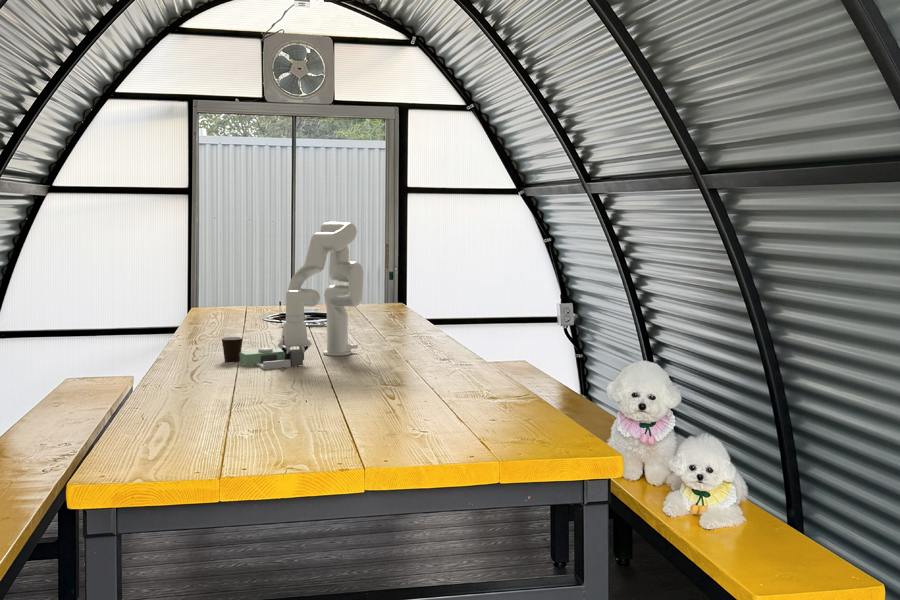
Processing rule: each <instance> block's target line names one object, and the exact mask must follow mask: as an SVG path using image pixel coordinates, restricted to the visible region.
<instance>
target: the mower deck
mask: <svg viewBox="0 0 900 600" xmlns="http://www.w3.org/2000/svg"><path fill="white" fill-rule="evenodd" d="M240 363H241V364H240ZM239 364H240V365H242V364H243V365H242V366H244V365H245V367H252V366H251V365H257V366H256V367H258V366H259V367H258V368H260V367H261V368H260V369H262V368H263V369H262V370H270V369H269V368H275V369H283V368H282V367H285V368H291V364H290V359H289V360H285V353H284V351H283V350H282V349H280V348H272V347H261V348H258V349H257V350H246V351H241V352H240V361H239Z"/></svg>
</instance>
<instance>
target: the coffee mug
mask: <svg viewBox="0 0 900 600" xmlns="http://www.w3.org/2000/svg"><path fill="white" fill-rule="evenodd" d="M221 343H222V352H223V359H224V363H229V362H233V363H239V362H240V352H242V347H243V346H242V345H243V337H241V336H227V337H222V338H221ZM238 361H239V362H238Z"/></svg>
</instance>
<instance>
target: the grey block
mask: <svg viewBox="0 0 900 600" xmlns="http://www.w3.org/2000/svg"><path fill="white" fill-rule="evenodd" d="M289 354H290V364H291V366H294V367H300V366H299V365H303V366H304V360H303V350H302V349H299V348H295V349H290V351H289Z"/></svg>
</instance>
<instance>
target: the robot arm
mask: <svg viewBox="0 0 900 600" xmlns="http://www.w3.org/2000/svg"><path fill="white" fill-rule="evenodd" d="M357 231H358V230H357V227H356V225H355V224H354V223H352V222H345V221H344V222H343V221H328V222H324V223H322V224H321V225H320V231H319V232H315V233H314V234H312V236H311V237H310V238H311V239H310V241H309V245H308V250H307V253H306V257H305V260H304V264H303V265H302V266H301V267H300V268H299V269H298V270H297V271H296V272H295V273H294V274H293V276H292V277H291V279H290V282H289V284H288V289H287V290H286V293H285V322H283V325H282V330H281V331H282V332H281V340H280V342H278V343H277V348H278V349H282V350H283V351H284V353H285V360H289V359H290V354H289V351H290V350H291V347H298V349H302V350H303V361H304V360H305V353H306V351H307V350H308V349H309V348H310V347H311V346H312V342H311V341H310V340H309V339H308V331H307V329H308V328H307V325H306V322H305V320H307V319H308V317H307V316H306V315H305V307H308V308H309V307H311V308H313V307H316V306H317V305H318V304H319V302H320V301H321V296H320V295H321V294H320V293H319V292H318V291H317V290H315V289H312V288H302V286H303V284H304V283H305V281H306V280H307V279H309V278H310V277H313V276H315V275H316V274H318V273H321V272H322V271H323V270H324V269H325V265H326V262H327V256H328V254H329V266H328V267H329V269H328V276H329V279H330V280H331V281H333V282H336V283H348V285H346V284H331V285H329V286H327V287H326V288H325V290H324V294H323V298H324V302H325V310H326V349H325V350H323V354H324V355H325V356H334V357H337V356H338V357H339V356H348V355H351V354H352V349H358V347H359V345H358V344H351V343H349V329H348V327H349V323H348V321H349V317H348V312H347V309H346V307H349V308H350V307H351V308H355V307H358V306H359V305H360V304H361V302H362V300H363V299H362V298H363V290H364V289H363V287H364V270H363V267H362V265H361V263H359V262H357V261H350V259H349V258H350V256H349V255H350V249H349V246H348V245H349V244H351V243H352V242H353V241H354V240H355V239H356V237H357V233H358V232H357Z"/></svg>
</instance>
